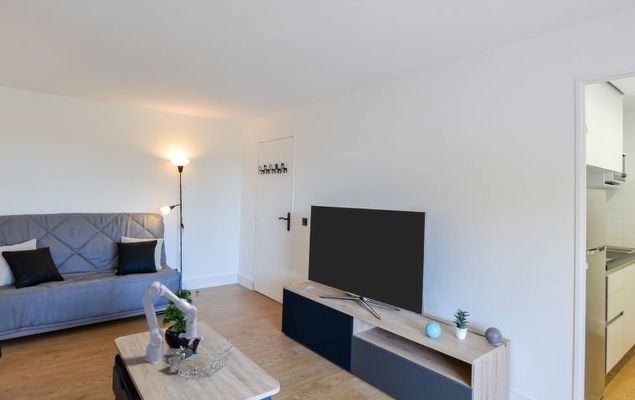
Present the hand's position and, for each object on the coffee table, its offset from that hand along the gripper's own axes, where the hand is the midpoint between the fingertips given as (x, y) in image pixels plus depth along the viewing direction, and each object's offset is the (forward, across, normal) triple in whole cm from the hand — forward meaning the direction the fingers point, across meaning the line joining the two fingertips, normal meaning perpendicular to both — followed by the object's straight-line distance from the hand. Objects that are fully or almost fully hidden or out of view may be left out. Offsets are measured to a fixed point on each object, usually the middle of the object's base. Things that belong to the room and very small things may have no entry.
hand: (190, 350), depth 206 cm
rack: (+3, -1, -4) cm, 5 cm away
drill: (+1, +1, -2) cm, 3 cm away
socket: (+3, +3, -16) cm, 16 cm away
